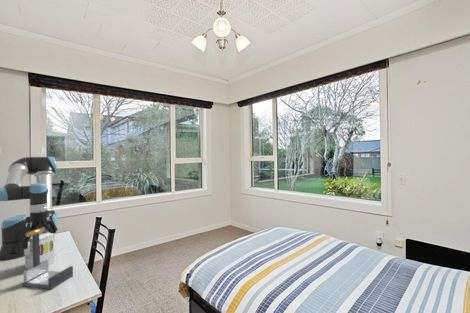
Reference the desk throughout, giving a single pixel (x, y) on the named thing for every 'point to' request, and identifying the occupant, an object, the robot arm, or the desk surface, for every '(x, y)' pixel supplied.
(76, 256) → the desk surface
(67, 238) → the desk surface
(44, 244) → the supplement box
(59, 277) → the press bed
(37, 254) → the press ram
